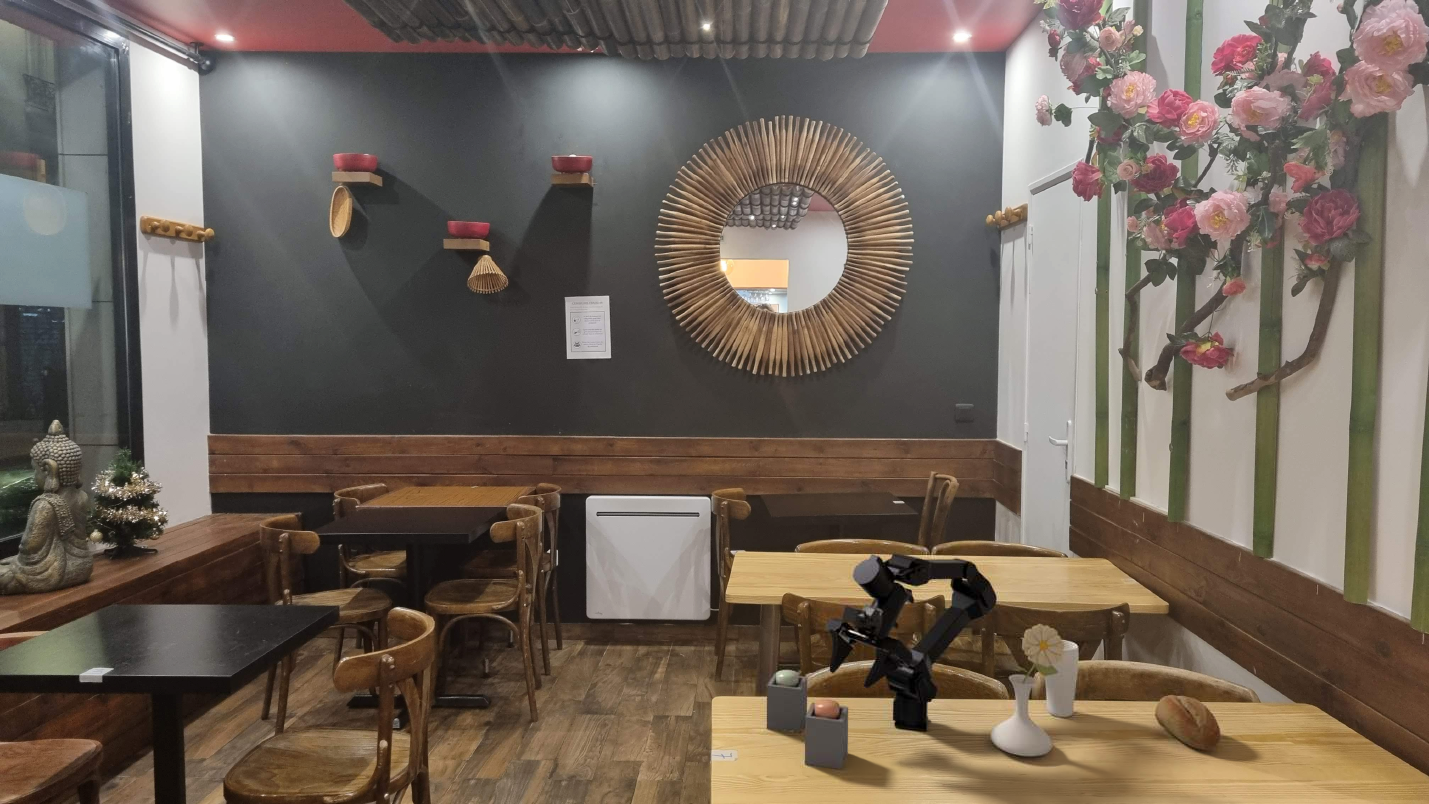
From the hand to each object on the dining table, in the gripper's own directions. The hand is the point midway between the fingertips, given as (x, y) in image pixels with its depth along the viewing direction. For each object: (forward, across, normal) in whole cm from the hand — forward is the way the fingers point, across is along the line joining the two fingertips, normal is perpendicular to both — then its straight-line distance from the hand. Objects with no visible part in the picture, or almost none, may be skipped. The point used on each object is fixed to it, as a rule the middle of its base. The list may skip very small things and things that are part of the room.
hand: (847, 679), depth 162 cm
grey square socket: (+12, -15, +7) cm, 21 cm away
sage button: (+6, -15, +2) cm, 16 cm away
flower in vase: (-8, +21, +30) cm, 37 cm away
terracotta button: (+8, +1, -1) cm, 8 cm away
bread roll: (-28, +37, +53) cm, 70 cm away
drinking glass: (-21, +15, +46) cm, 53 cm away
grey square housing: (+14, +1, +4) cm, 15 cm away
